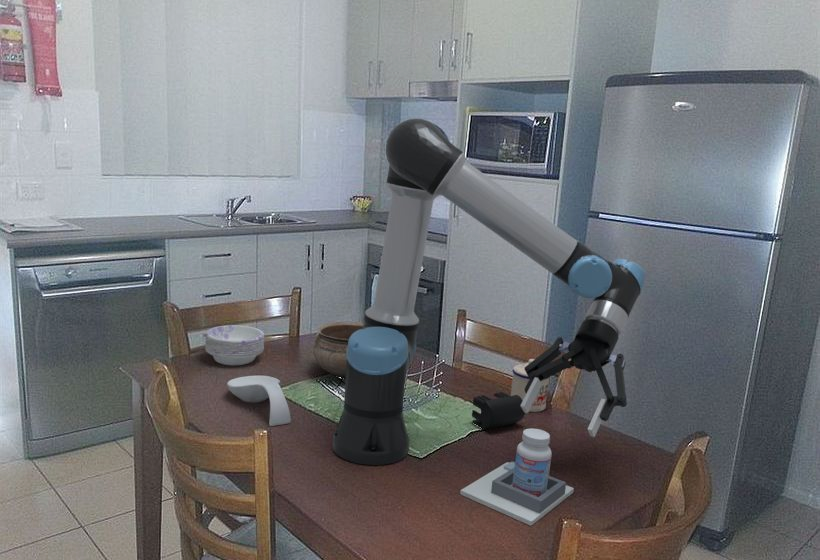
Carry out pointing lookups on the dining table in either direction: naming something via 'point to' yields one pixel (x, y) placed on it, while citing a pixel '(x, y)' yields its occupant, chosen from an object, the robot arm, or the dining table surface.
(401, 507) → the dining table surface
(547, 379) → the teacup with lid
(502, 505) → the panel
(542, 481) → the pill bottle
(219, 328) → the paper bowls
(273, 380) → the spoon rest
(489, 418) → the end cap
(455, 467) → the dining table surface
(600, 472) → the dining table surface
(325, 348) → the cooking pot
